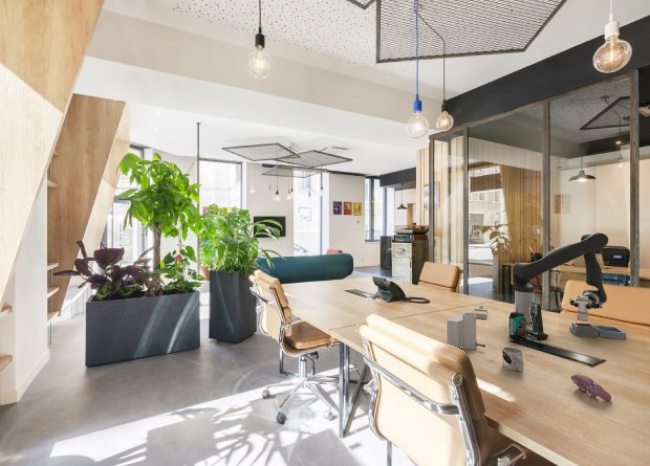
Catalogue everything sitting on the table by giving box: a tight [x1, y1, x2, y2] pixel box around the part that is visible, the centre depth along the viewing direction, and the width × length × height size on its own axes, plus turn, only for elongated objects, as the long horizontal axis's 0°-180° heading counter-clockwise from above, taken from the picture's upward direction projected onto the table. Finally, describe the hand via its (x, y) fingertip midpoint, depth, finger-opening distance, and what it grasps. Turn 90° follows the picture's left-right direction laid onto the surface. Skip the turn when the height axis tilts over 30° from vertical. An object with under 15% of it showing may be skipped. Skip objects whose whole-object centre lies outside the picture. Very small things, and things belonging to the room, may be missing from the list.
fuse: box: [576, 294, 589, 322], centre depth 159 cm, size 4×4×12 cm
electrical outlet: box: [473, 304, 489, 320], centre depth 197 cm, size 7×4×18 cm
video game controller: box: [570, 373, 612, 402], centre depth 102 cm, size 10×5×7 cm, turn 6°
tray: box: [592, 325, 627, 340], centre depth 157 cm, size 10×10×3 cm
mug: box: [502, 346, 525, 372], centre depth 121 cm, size 10×7×7 cm
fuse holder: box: [569, 321, 599, 339], centre depth 159 cm, size 9×9×4 cm
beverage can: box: [508, 311, 527, 341], centre depth 154 cm, size 7×7×12 cm
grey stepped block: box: [446, 312, 486, 350], centre depth 144 cm, size 12×14×15 cm
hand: (581, 306), depth 157 cm, fingers closed on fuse, 4 cm apart
